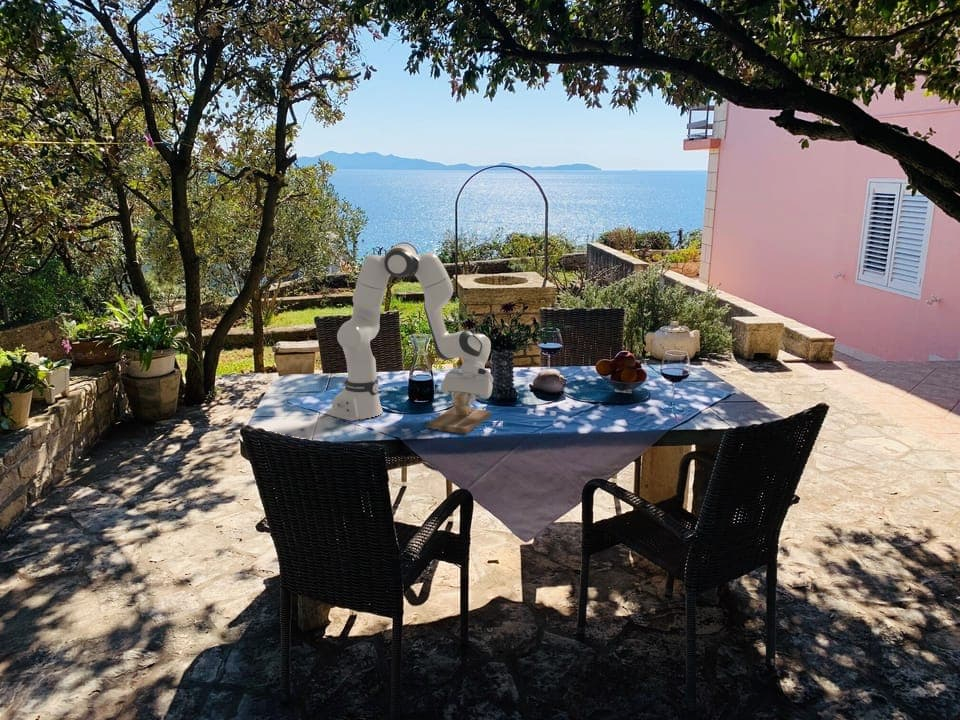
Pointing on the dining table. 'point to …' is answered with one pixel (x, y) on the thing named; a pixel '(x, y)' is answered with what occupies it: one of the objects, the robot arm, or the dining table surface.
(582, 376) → the dining table surface
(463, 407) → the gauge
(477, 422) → the board
